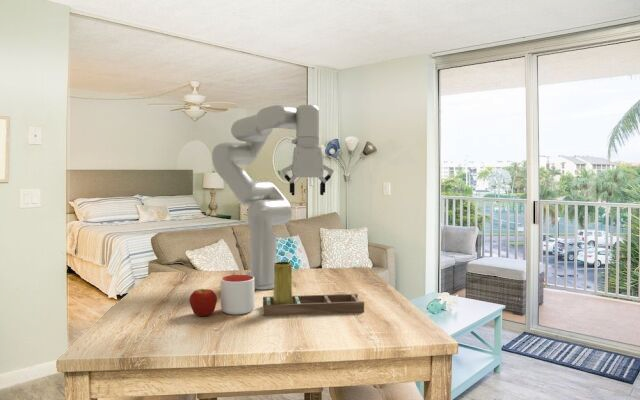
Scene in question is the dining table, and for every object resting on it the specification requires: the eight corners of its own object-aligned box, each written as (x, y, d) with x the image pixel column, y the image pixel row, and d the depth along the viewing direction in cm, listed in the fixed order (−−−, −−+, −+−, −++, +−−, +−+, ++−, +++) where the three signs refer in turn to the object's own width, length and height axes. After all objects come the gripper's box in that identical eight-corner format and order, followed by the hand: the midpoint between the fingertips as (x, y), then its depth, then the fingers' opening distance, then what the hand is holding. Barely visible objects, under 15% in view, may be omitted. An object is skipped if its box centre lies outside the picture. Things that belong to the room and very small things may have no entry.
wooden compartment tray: (262, 306, 146) (262, 296, 146) (356, 302, 150) (356, 293, 150) (263, 315, 136) (263, 305, 136) (364, 311, 141) (364, 302, 141)
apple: (193, 320, 132) (192, 293, 132) (187, 313, 139) (186, 287, 138) (220, 316, 136) (219, 290, 135) (213, 309, 143) (212, 284, 142)
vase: (290, 313, 139) (290, 265, 138) (270, 311, 140) (270, 264, 139) (295, 307, 145) (295, 261, 144) (276, 305, 146) (276, 260, 145)
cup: (260, 307, 145) (259, 275, 144) (245, 317, 135) (244, 283, 135) (231, 304, 148) (231, 273, 147) (214, 313, 138) (214, 280, 138)
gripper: (282, 142, 149) (282, 195, 150) (335, 143, 152) (335, 195, 153) (280, 143, 157) (280, 194, 158) (331, 144, 159) (331, 194, 160)
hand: (307, 195), depth 155 cm, fingers open, 9 cm apart
